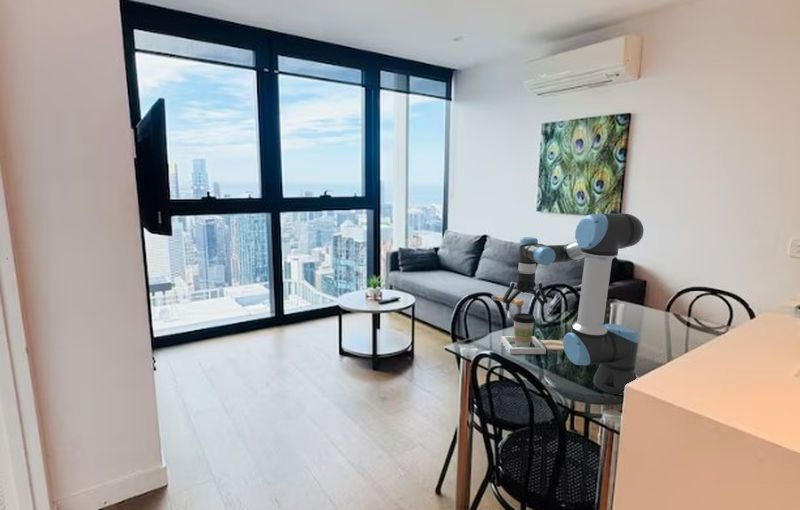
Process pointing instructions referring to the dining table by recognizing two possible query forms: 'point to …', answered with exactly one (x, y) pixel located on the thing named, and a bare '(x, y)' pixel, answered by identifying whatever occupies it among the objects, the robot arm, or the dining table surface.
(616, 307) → the dining table surface
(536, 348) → the white square frame
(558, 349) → the cork pad
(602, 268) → the robot arm
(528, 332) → the coffee cup
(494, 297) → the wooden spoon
